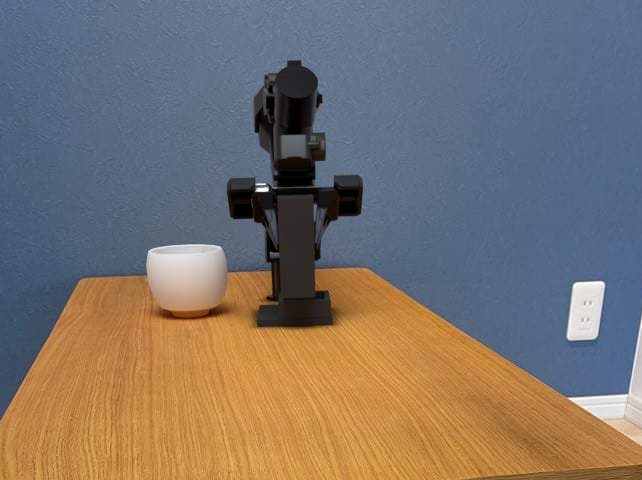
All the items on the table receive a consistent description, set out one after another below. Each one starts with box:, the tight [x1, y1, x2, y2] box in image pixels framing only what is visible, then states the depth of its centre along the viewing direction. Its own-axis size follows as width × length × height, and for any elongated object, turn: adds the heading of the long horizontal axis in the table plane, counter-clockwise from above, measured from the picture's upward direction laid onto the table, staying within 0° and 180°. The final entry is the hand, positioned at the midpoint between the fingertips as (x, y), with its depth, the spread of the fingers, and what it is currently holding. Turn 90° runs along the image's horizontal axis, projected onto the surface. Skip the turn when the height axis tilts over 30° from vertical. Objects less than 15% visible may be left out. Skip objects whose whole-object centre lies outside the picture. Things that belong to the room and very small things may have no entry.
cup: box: [145, 243, 229, 319], centre depth 132 cm, size 12×12×10 cm
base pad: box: [256, 289, 333, 327], centre depth 129 cm, size 11×11×4 cm
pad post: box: [277, 194, 316, 298], centre depth 118 cm, size 5×5×13 cm
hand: (296, 247), depth 117 cm, fingers closed on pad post, 5 cm apart
